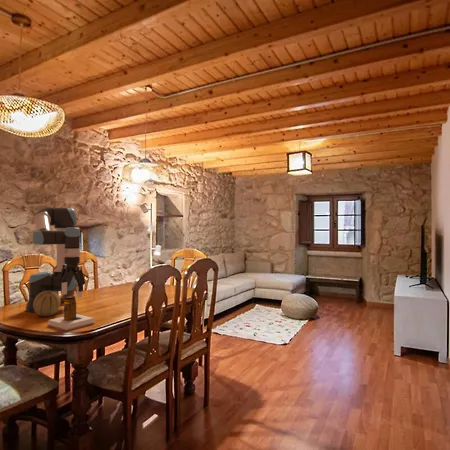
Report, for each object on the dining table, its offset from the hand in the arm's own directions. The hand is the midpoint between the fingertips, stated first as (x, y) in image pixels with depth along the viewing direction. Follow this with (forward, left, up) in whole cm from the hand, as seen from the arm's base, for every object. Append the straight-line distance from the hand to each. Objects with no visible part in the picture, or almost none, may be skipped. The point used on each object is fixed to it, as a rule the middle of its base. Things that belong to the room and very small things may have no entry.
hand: (71, 296), depth 187 cm
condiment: (0, 0, -12) cm, 12 cm away
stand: (0, 0, -15) cm, 15 cm away
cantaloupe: (-29, +3, -15) cm, 33 cm away
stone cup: (-58, +35, -16) cm, 69 cm away
